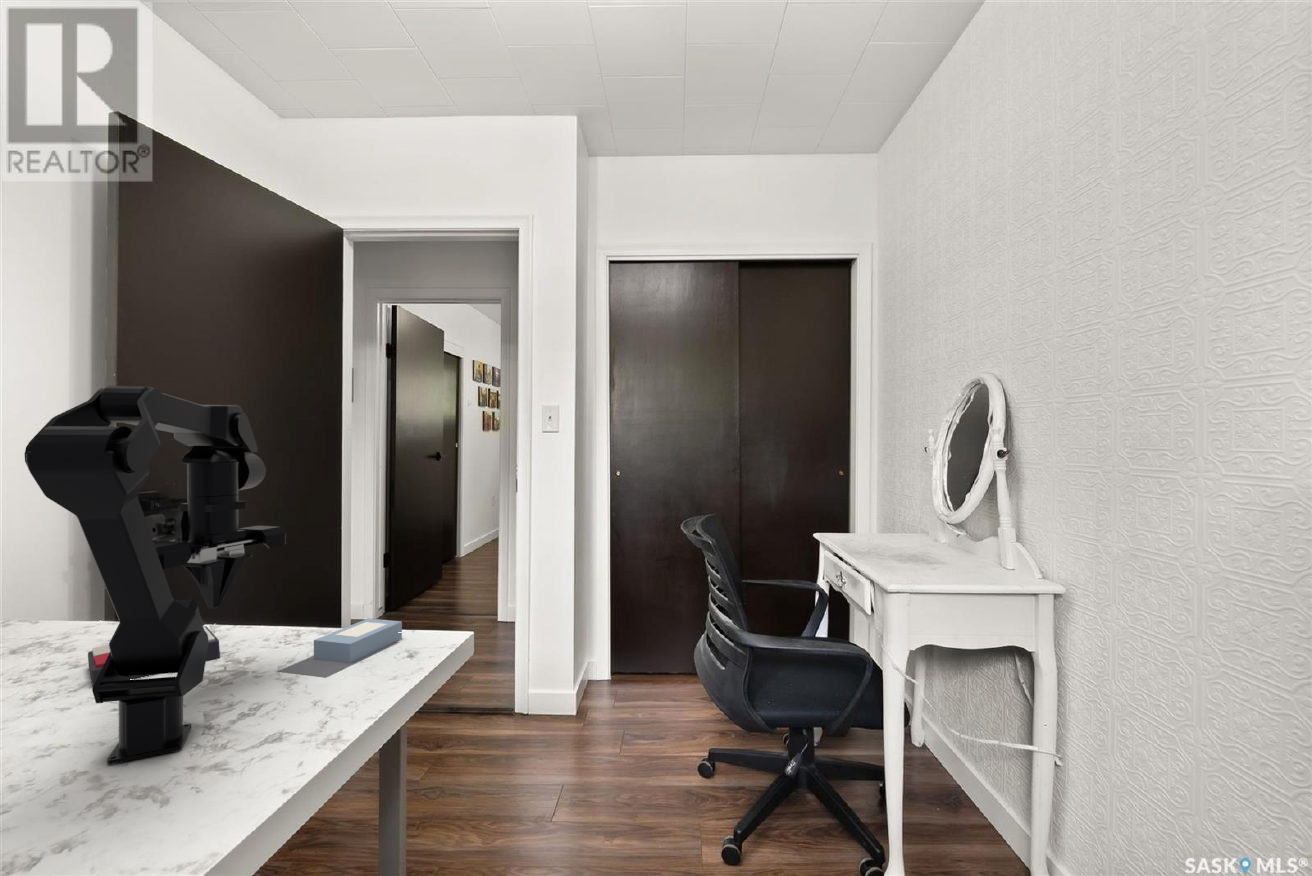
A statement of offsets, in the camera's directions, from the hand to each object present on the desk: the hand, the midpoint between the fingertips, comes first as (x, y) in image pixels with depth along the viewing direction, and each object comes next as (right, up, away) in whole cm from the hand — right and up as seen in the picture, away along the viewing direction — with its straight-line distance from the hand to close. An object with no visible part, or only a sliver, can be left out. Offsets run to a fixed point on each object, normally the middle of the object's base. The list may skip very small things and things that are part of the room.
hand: (213, 607), depth 84 cm
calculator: (-17, -13, +11) cm, 24 cm away
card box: (+10, -10, +11) cm, 18 cm away
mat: (+11, -12, +14) cm, 21 cm away
